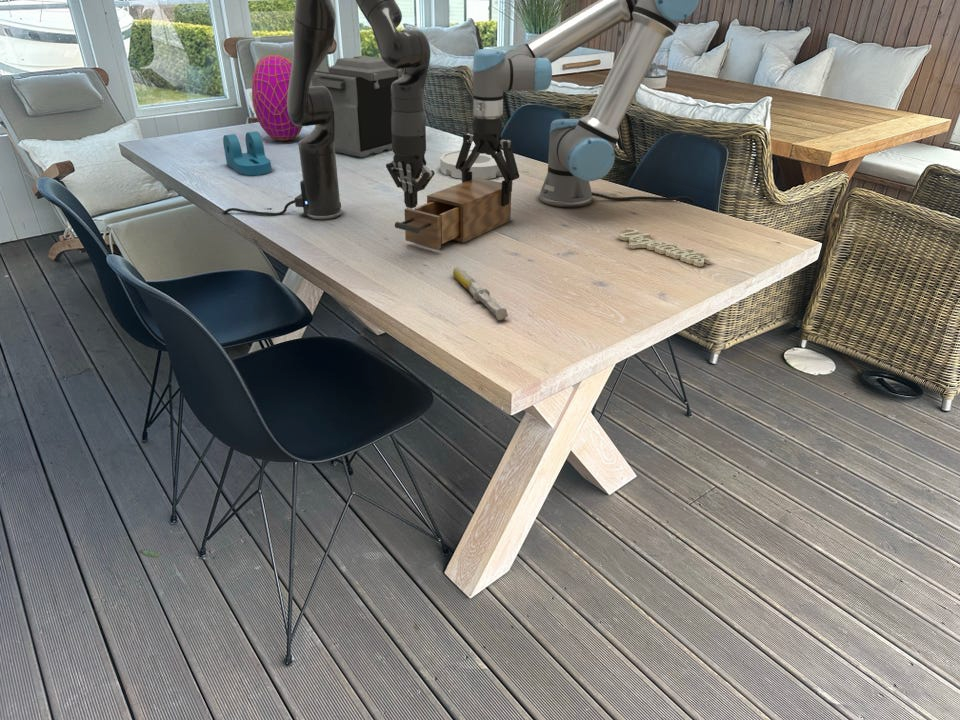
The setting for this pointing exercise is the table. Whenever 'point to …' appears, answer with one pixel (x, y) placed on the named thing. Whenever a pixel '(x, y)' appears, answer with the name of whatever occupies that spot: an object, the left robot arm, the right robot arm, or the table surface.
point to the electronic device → (360, 103)
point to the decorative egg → (273, 97)
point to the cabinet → (475, 206)
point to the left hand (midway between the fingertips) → (411, 207)
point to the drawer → (431, 224)
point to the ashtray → (480, 169)
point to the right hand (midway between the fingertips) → (486, 200)
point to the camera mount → (246, 154)
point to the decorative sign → (663, 247)
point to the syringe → (479, 293)
